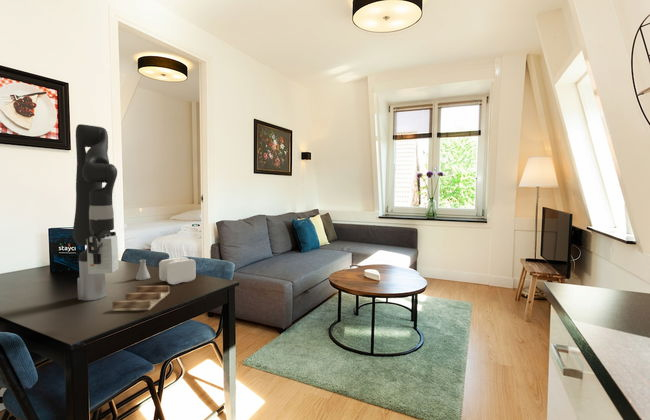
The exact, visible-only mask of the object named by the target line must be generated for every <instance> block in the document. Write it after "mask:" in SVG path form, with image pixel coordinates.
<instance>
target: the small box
mask: <svg viewBox="0 0 650 420" xmlns="http://www.w3.org/2000/svg"><path fill="white" fill-rule="evenodd" d="M102 242H103V248H101V253H100V254H101V264H94V263H93V254H92V253H88V242H87V245H86V248H87V262H88V274H98V273H105V274H113V273H114V272H116V271H117V270H119V250H118V249H119V248H118V235H116V236H111V237H107V238H102V239H101V241H100V242H99V241H98V240H97V245H101V243H102ZM91 248H92V249H93V247H91ZM97 250H98V248H97Z"/></svg>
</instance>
